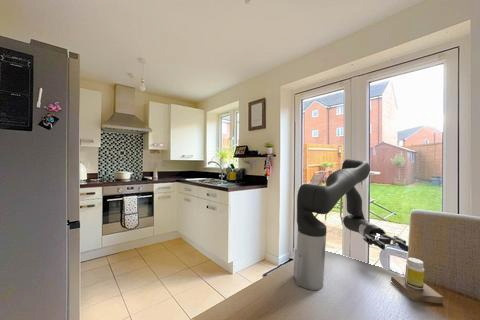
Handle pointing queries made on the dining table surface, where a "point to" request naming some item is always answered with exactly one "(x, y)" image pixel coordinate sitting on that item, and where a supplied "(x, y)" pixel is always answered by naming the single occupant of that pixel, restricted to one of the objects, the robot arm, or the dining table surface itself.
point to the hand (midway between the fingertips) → (395, 248)
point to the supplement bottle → (414, 273)
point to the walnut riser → (417, 291)
